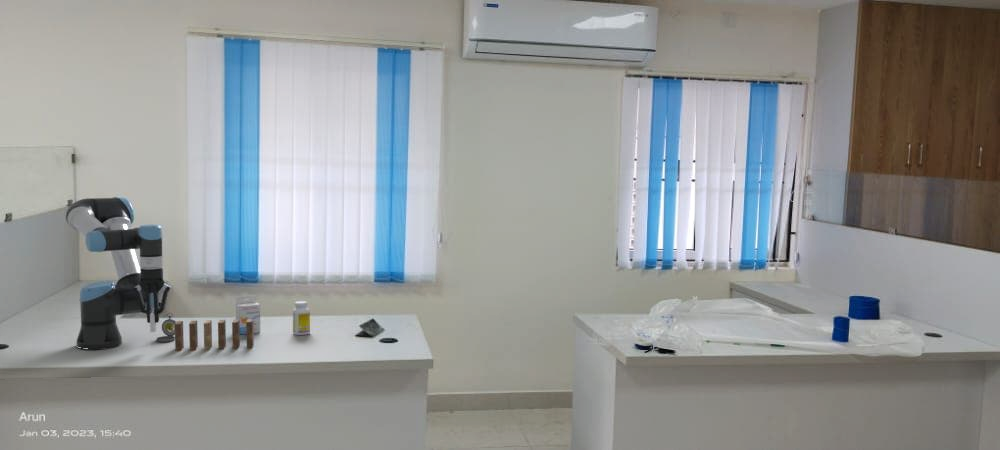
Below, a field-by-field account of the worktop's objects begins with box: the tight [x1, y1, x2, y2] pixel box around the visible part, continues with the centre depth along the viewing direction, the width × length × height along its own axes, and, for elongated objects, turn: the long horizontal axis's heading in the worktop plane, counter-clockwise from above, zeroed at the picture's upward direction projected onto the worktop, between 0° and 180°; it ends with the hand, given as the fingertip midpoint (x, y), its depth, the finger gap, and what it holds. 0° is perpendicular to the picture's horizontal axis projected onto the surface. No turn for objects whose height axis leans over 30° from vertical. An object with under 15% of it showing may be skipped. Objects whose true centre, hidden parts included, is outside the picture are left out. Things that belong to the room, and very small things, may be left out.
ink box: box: [235, 294, 261, 335], centre depth 317 cm, size 8×5×15 cm, turn 123°
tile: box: [203, 319, 213, 351], centre depth 293 cm, size 2×5×10 cm, turn 12°
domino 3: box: [217, 319, 227, 350], centre depth 294 cm, size 2×5×10 cm, turn 12°
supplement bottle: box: [292, 300, 311, 336], centre depth 317 cm, size 7×7×13 cm
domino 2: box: [188, 320, 199, 351], centre depth 292 cm, size 2×5×10 cm, turn 12°
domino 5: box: [245, 319, 255, 349], centre depth 296 cm, size 2×5×10 cm, turn 12°
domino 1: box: [174, 320, 185, 352], centre depth 290 cm, size 2×5×10 cm, turn 12°
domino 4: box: [231, 318, 241, 350], centre depth 295 cm, size 2×5×10 cm, turn 12°
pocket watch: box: [155, 312, 177, 343], centre depth 304 cm, size 8×8×10 cm
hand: (153, 331), depth 288 cm, fingers closed
